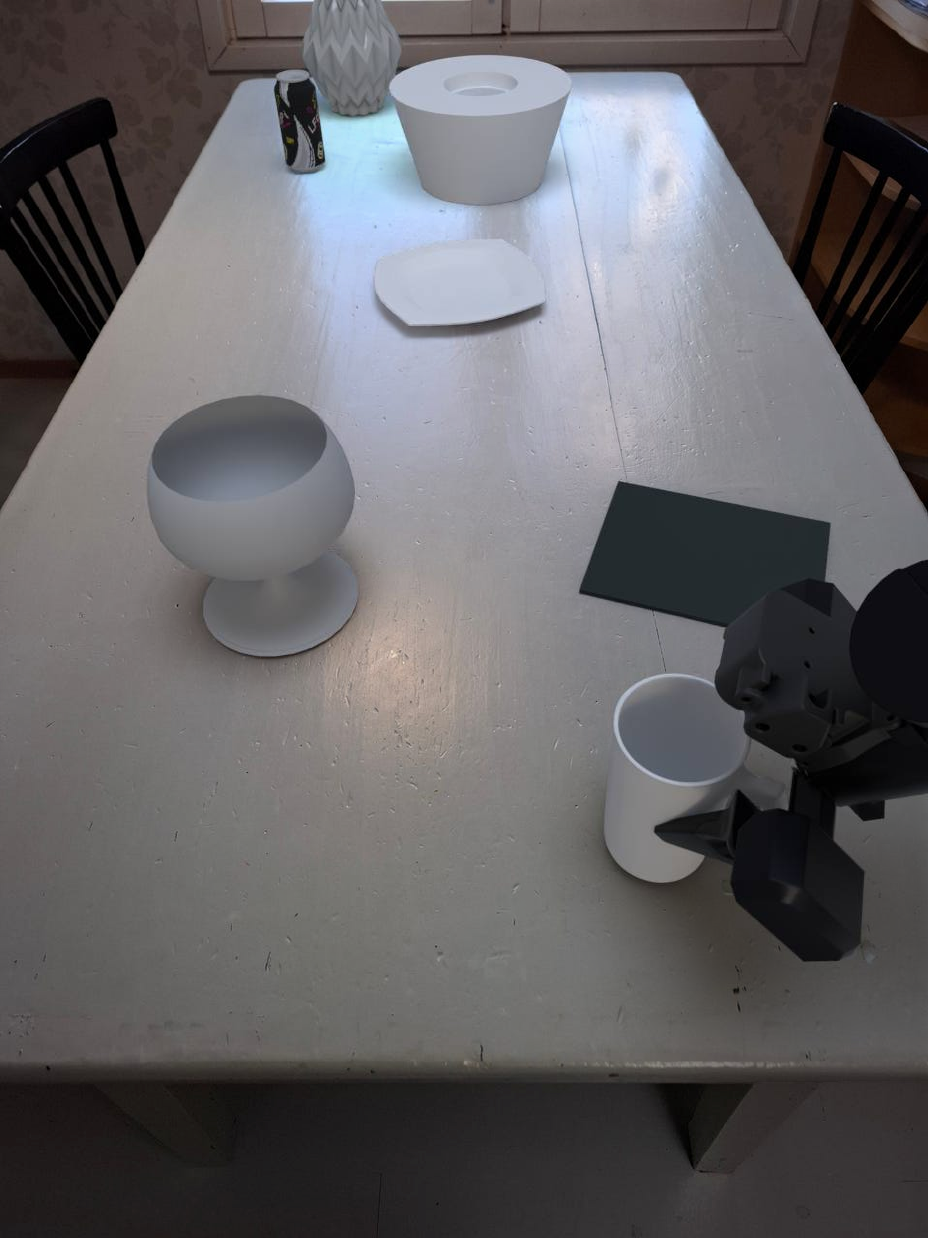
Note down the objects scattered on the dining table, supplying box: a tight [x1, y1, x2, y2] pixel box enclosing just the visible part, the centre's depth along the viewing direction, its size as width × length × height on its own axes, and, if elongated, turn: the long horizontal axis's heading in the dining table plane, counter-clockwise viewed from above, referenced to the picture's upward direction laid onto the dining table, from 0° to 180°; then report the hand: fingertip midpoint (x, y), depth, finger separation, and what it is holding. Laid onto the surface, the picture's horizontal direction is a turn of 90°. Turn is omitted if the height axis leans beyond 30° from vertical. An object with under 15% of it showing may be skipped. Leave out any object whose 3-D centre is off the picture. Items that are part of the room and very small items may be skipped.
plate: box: [373, 238, 547, 327], centre depth 98 cm, size 19×19×2 cm
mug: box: [603, 672, 789, 884], centre depth 47 cm, size 10×7×12 cm, turn 55°
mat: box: [578, 480, 832, 628], centre depth 69 cm, size 18×14×1 cm
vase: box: [299, 0, 403, 117], centre depth 134 cm, size 16×16×18 cm
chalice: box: [146, 394, 360, 657], centre depth 62 cm, size 14×14×15 cm
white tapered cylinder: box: [389, 54, 573, 206], centre depth 116 cm, size 24×24×12 cm
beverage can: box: [273, 69, 326, 174], centre depth 121 cm, size 6×6×12 cm
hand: (670, 780), depth 47 cm, fingers closed on mug, 6 cm apart
